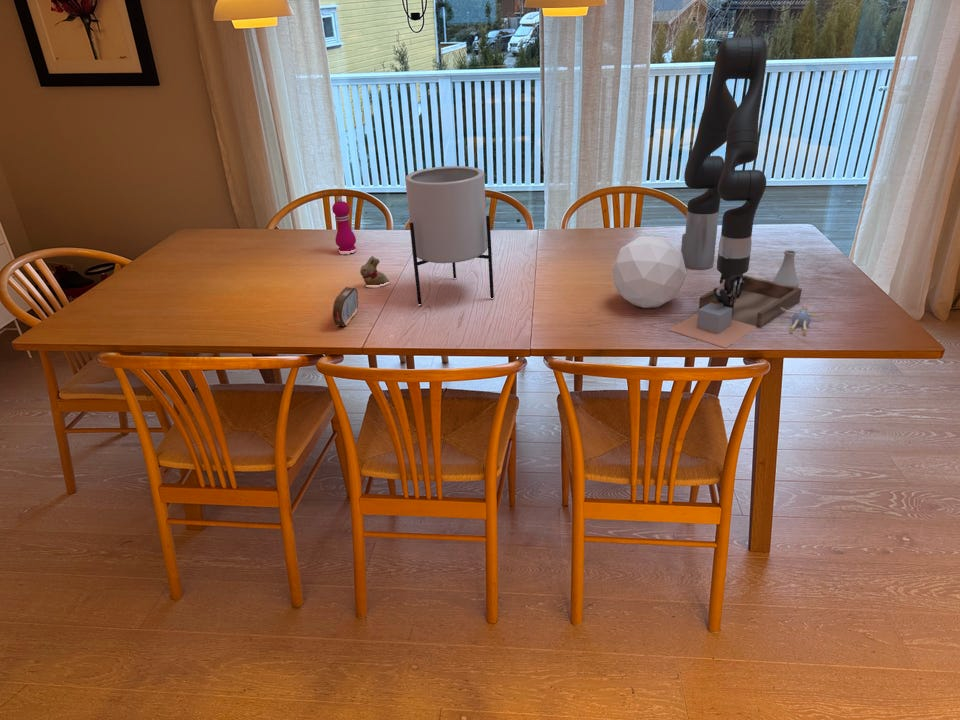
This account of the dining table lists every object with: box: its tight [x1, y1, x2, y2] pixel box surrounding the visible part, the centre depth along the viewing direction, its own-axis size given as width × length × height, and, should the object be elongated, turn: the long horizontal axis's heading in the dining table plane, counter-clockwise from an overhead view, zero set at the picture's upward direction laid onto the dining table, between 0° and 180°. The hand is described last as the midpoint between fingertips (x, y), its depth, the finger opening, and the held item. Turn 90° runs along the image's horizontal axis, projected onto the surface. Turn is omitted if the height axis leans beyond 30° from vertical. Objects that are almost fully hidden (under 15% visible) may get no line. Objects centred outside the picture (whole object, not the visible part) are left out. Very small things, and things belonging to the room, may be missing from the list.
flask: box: [772, 249, 800, 288], centre depth 196 cm, size 7×7×10 cm
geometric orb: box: [612, 235, 688, 309], centre depth 187 cm, size 19×20×20 cm
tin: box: [332, 286, 359, 326], centre depth 192 cm, size 15×3×8 cm, turn 171°
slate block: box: [697, 303, 733, 334], centre depth 175 cm, size 6×6×5 cm
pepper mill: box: [332, 196, 357, 251], centre depth 244 cm, size 7×7×20 cm
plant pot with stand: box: [404, 165, 495, 305], centre depth 198 cm, size 24×24×36 cm
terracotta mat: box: [668, 312, 758, 349], centre depth 175 cm, size 16×16×1 cm
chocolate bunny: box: [359, 255, 390, 285], centre depth 215 cm, size 6×8×10 cm
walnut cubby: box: [698, 274, 803, 328], centre depth 185 cm, size 17×22×4 cm
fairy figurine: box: [780, 305, 829, 336], centre depth 173 cm, size 12×5×12 cm
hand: (727, 316), depth 178 cm, fingers closed
